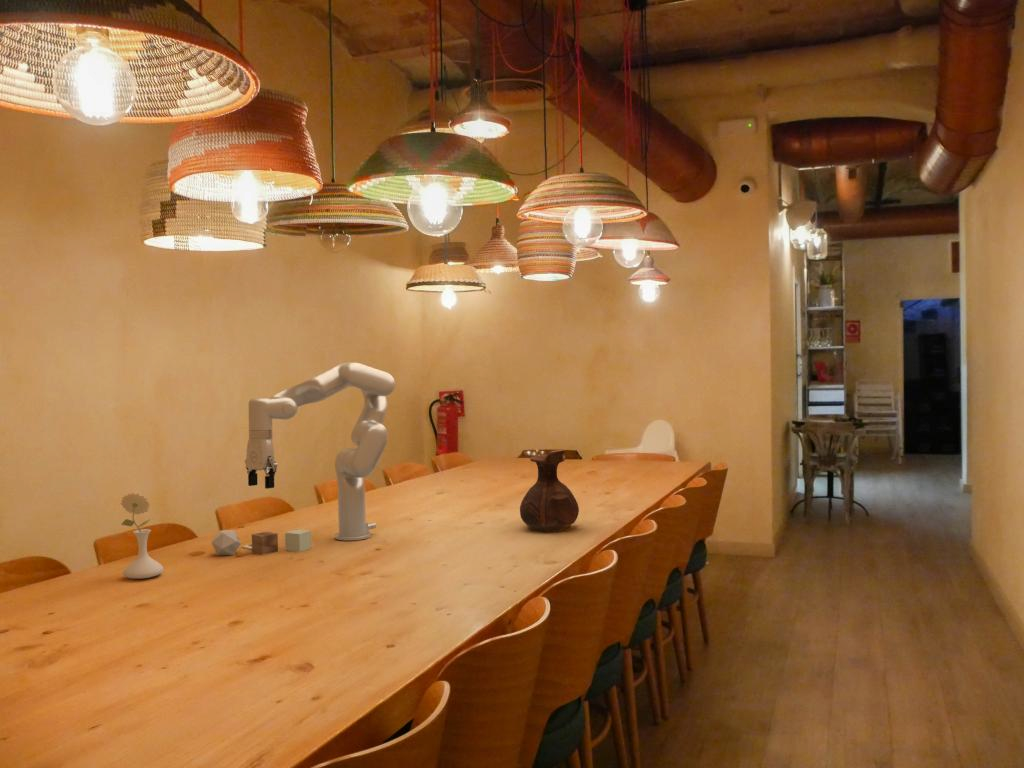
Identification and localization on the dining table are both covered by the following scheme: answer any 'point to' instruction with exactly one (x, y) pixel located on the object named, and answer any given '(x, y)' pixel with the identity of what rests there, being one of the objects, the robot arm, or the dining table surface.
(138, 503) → the flower in vase
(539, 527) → the dark brown vase
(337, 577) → the dining table surface
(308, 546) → the sage block
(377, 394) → the robot arm
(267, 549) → the walnut block
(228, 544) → the die
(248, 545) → the tile
